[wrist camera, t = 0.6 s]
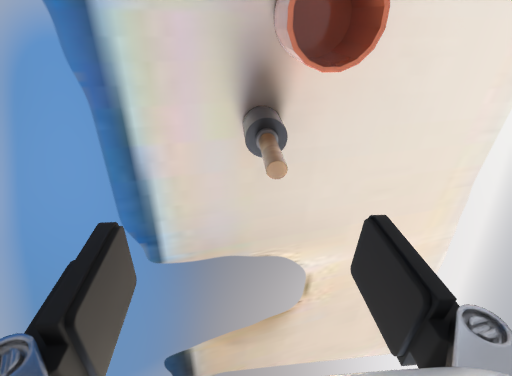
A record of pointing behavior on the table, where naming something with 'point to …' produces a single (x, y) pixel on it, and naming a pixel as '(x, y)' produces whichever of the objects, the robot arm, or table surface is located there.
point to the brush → (266, 139)
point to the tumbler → (330, 30)
